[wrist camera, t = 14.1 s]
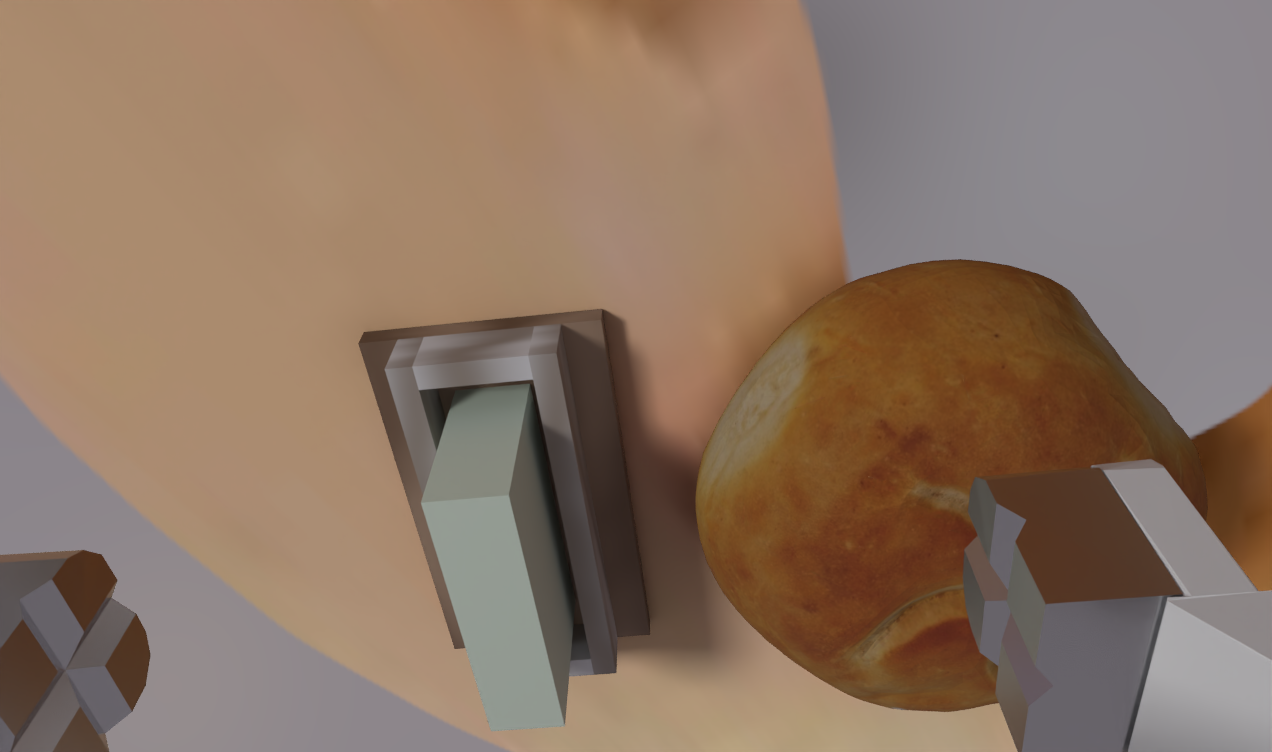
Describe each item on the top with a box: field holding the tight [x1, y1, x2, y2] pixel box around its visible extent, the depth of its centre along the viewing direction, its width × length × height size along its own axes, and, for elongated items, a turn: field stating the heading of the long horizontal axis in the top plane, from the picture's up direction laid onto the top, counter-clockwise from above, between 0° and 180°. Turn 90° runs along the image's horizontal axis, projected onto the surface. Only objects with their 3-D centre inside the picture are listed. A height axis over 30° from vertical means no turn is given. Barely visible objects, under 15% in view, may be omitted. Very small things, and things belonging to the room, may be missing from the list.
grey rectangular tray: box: [358, 309, 650, 676], centre depth 47 cm, size 11×20×4 cm, turn 7°
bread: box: [695, 259, 1207, 712], centre depth 43 cm, size 23×23×10 cm
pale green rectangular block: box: [421, 384, 575, 731], centre depth 44 cm, size 4×14×8 cm, turn 7°
